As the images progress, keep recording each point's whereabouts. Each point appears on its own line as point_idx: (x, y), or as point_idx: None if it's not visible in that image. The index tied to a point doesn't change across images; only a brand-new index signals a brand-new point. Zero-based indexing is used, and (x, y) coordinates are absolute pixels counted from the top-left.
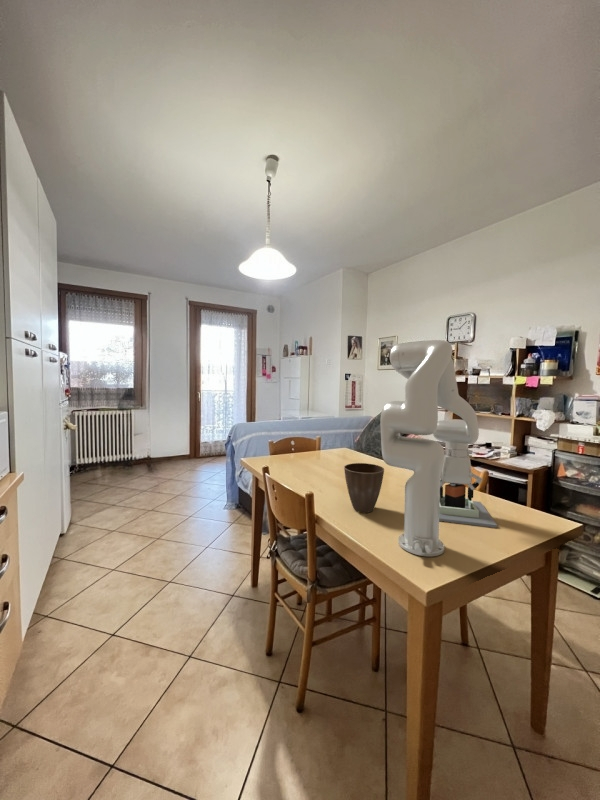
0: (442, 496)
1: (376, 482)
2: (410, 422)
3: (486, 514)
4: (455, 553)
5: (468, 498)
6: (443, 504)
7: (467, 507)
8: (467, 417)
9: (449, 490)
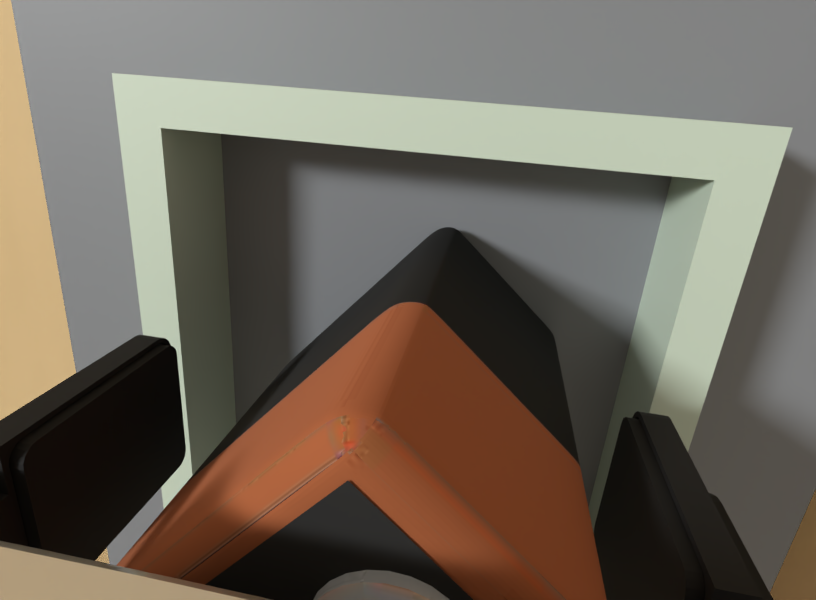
0: (167, 474)
1: None
2: None
3: (775, 475)
4: None
5: (608, 490)
6: (295, 214)
7: (617, 270)
8: None
9: None
